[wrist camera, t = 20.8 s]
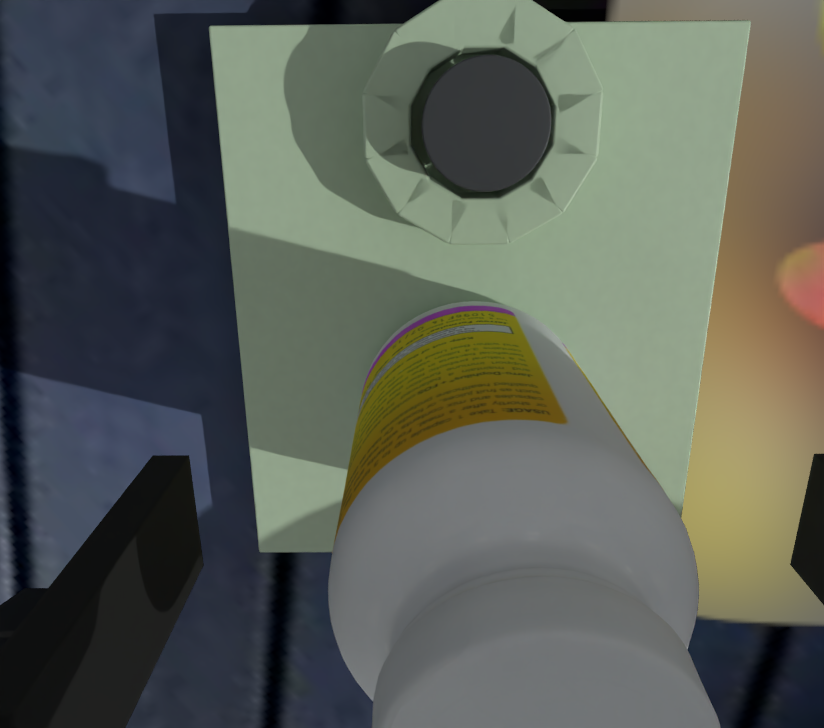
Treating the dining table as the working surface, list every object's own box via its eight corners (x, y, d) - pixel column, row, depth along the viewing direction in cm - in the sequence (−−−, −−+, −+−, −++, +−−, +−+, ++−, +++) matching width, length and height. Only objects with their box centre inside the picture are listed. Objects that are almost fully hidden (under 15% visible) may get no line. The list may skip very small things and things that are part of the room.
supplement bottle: (321, 423, 21) (193, 817, 9) (447, 250, 19) (496, 456, 7) (491, 531, 23) (577, 1004, 10) (624, 378, 21) (917, 735, 9)
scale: (220, 14, 19) (185, -6, 16) (730, 9, 19) (787, -12, 16) (267, 529, 24) (247, 583, 21) (662, 528, 24) (695, 582, 21)
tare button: (420, 60, 17) (421, 55, 15) (543, 60, 17) (555, 53, 15) (421, 186, 18) (421, 192, 16) (537, 186, 18) (547, 191, 16)
